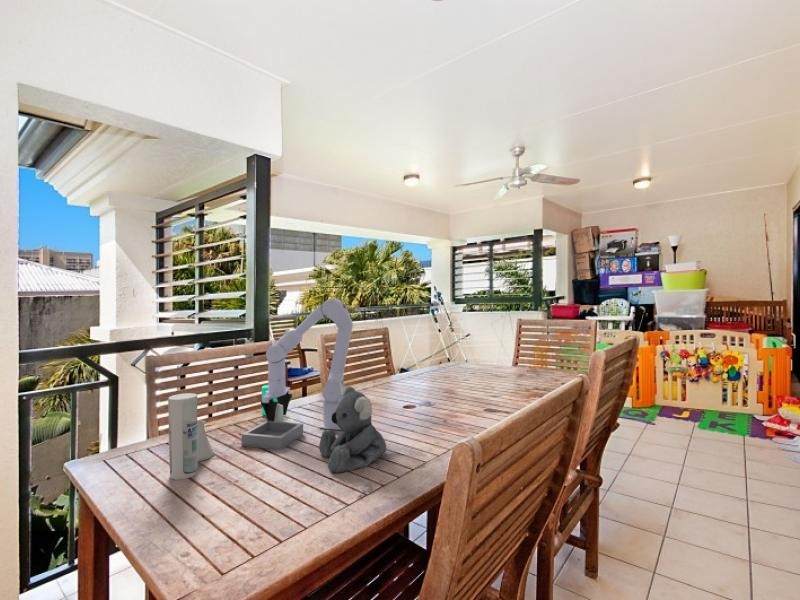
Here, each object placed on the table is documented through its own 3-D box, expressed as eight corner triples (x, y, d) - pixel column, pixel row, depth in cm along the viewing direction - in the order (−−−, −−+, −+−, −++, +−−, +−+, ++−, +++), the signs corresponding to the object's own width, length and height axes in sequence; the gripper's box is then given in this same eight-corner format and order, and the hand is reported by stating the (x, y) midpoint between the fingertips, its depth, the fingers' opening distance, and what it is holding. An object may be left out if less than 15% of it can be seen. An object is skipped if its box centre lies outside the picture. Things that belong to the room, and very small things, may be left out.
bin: (303, 434, 132) (303, 423, 132) (281, 449, 119) (281, 438, 119) (266, 431, 135) (266, 420, 135) (241, 445, 122) (241, 434, 122)
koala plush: (316, 452, 117) (316, 385, 117) (375, 442, 124) (374, 379, 124) (330, 477, 101) (330, 399, 101) (396, 464, 108) (396, 392, 108)
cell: (285, 424, 141) (285, 403, 141) (279, 428, 137) (279, 406, 137) (275, 423, 142) (275, 402, 142) (269, 427, 138) (268, 405, 138)
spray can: (178, 468, 106) (177, 393, 106) (203, 468, 106) (202, 393, 106) (163, 479, 100) (162, 399, 99) (189, 480, 100) (188, 399, 99)
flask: (219, 454, 116) (218, 419, 116) (199, 464, 109) (198, 427, 109) (199, 451, 118) (199, 417, 118) (178, 460, 111) (178, 424, 111)
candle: (273, 415, 152) (273, 384, 152) (258, 415, 153) (258, 383, 153) (281, 411, 158) (280, 380, 157) (267, 410, 159) (266, 380, 159)
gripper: (277, 374, 148) (278, 411, 148) (254, 383, 134) (254, 423, 134) (295, 375, 146) (295, 412, 146) (273, 384, 132) (273, 425, 132)
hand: (277, 418), depth 140 cm, fingers open, 7 cm apart
